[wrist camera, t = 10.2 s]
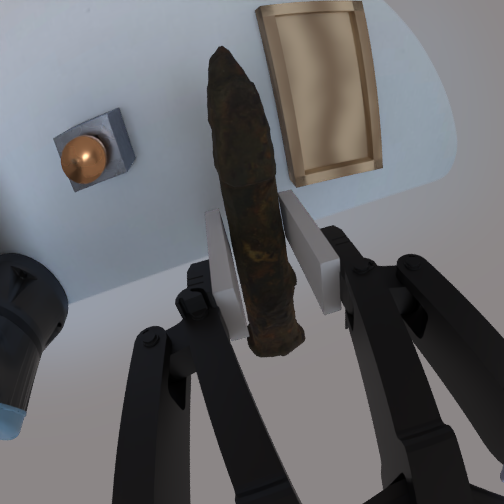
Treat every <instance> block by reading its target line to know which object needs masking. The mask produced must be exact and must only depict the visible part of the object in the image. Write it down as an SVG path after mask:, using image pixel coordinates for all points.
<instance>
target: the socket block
mask: <svg viewBox="0 0 504 504" xmlns="http://www.w3.org/2000/svg"><path fill="white" fill-rule="evenodd" d="M81 135H90V136H95V135H98V138H99V140H100V141H101V142H102V144H103V145H104V147H105V149H106V152H107V164H106V167H105V169H104V171H103V172H102V174H101V175H100V176H99V177H98V178H97V179H96V180H95V181H93V182H91V183H87V184H80V183H76V182H74V181H72V180H71V179H69V180H70V182H71V185H72V187H73V189H74V192H77V191H79V190H82V189H84V188H87V187H89V186H92V185H94V184H97V183H99V182H102V181H105V180H107V179H110V178H113V177H115V176H118V175H121V174H123V173H126V172H128V170H129V168H130V167H131V165H132V163H133V162H134V160H135V158H136V157H135V154H134V151H133V148H132V145H131V142H130V139H129V136H128V134H127V131H126V127H125V124H124V121H123V118H122V115H121V112H120V109H119V108H117V109H114V110H112V111H109V112H107V113H104V114H102V115H100V116H97V117H95V118H93V119H90V120H88V121H86V122H83V123H81V124H79V125H77V126H75V127H73V128H70V129H69V130H67V131H65V132H63V133H62V134H60V135H58V136H57V137H55V138H53V139H54V142H55V145H56V147H57V150H58V153H59V155H60V158H61V155H62V151H63V149H64V147H65V146H66V145H67V143H69V142H70V141H71V140H72V139H74V138H76V137H78V136H81Z"/></svg>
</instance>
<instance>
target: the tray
mask: <svg viewBox="0 0 504 504" xmlns="http://www.w3.org/2000/svg"><path fill="white" fill-rule="evenodd" d="M255 13H256V17H257V21H258V25H259V29H260V34H261V38H262V42H263V46H264V51H265V55H266V60H267V64H268V69H269V73H270V78H271V83H272V88H273V92H274V97H275V102H276V107H277V112H278V117H279V122H280V127H281V133H282V138H283V143H284V149H285V154H286V160H287V165H288V171H289V177H290V180H291V181H292V183H293V184H294V185H295V186H296V188H297V187H301V186H306V185H310V184H314V183H318V182H322V181H327V180H331V179H335V178H340V177H344V176H348V175H353V174H357V173H362V172H367V171H371V170H376V169H381V168H383V164H382V143H381V129H380V116H379V105H378V96H377V87H376V79H375V71H374V64H373V58H372V51H371V45H370V39H369V34H368V28H367V23H366V18H365V13H364V9H363V4H362V1H310V2H295V3H283V4H274V5H265V6H260V7H259V8H257V9H256V10H255Z"/></svg>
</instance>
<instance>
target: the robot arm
mask: <svg viewBox="0 0 504 504" xmlns="http://www.w3.org/2000/svg"><path fill="white" fill-rule="evenodd" d="M278 198H279V203H280V209H281V214H282V220H283V225H284V231H285V236H286V238H287V240H288V242H289V244H290V246H291V248H292V250H293V252H294V254H295V256H296V258H297V260H298V262H299V264H300V266H301V268H302V270H303V272H304V274H305V276H306V278H307V280H308V282H309V284H310V286H311V288H312V290H313V292H314V294H315V296H316V299H317V300H318V303H319V305H320V307H321V309H322V311H323V313H324V315H327V314H330V313H333V312H336V311H339V310H341V301H342V303H343V305H344V307H345V329H348V327H349V331H350V334H351V338H352V342H353V345H354V349H355V352H356V356H357V360H358V363H359V367H360V371H361V375H362V379H363V383H364V387H365V391H366V395H367V399H368V403H369V407H370V411H371V416H372V420H373V424H374V429H375V434H376V438H377V443H378V448H379V453H380V457H381V464H382V465H381V478H382V485H383V491H381V492H380V493H378V494H377V495H375V496H374V497H372V498H371V499H370V500H368V501H366V502H365V503H363V504H504V496H501V495H498V494H496V493H493V492H490V491H487V490H485V489H482V488H479V487H477V486H474V485H472V484H469V481H468V477H467V473H466V470H465V465H464V462H463V458H462V455H461V451H460V448H459V445H458V442H457V438H456V435H455V433H454V431H453V429H452V428H451V427H450V426H449V425H446V424H444V423H443V421H442V419H441V417H440V414H439V411H438V408H437V405H436V402H435V399H434V397H433V394H432V391H431V388H430V385H429V383H428V380H427V377H426V375H425V373H424V370H423V367H422V364H421V362H420V359H419V357H418V354H417V352H416V349H415V347H414V345H413V342H414V344H415V345H416V346H417V348H418V349H419V350H420V352H421V353H422V354H423V356H424V357H425V358H426V360H427V361H428V362H429V364H430V365H431V367H433V369H434V371H435V372H436V373H437V375H438V376H439V377H440V379H441V380H442V382H443V383H444V385H445V386H446V387H447V389H448V390H449V392H450V393H451V394H452V396H453V397H454V399H455V400H456V402H457V403H458V404H459V406H460V408H461V409H462V410H463V412H464V413H465V415H466V416H467V418H468V419H469V421H470V422H471V424H472V425H473V427H474V429H475V430H476V432H477V433H478V435H479V436H480V438H481V439H482V441H483V443H484V444H485V445H486V447H487V448H488V449H489V451H490V452H491V453H492V454H493V455H494V457H496V459H497V460H498V461H500V462H501V463H502V464H503V470H502V471H501V474H500V478H501V480H502V482H504V338H503V337H502V336H501V335H500V334H499V333H498V332H497V331H496V329H495V328H494V327H493V326H492V325H491V324H490V323H489V322H488V321H487V320H486V319H485V318H484V316H482V315H481V313H480V312H479V311H478V310H477V309H476V308H475V307H474V306H473V305H472V304H471V303H470V302H469V301H468V300H467V299H466V298H465V297H464V296H463V295H462V294H461V293H460V292H459V291H458V290H457V289H456V288H455V287H454V286H453V285H452V284H451V283H450V282H449V281H448V280H447V279H446V278H445V277H444V276H443V275H442V274H441V273H440V272H438V271H437V270H436V269H435V268H434V267H433V266H432V265H431V264H430V263H429V262H427V260H426V259H424V258H423V257H421V256H419V255H415V254H407V255H403V256H402V257H400V258H399V259H398V261H397V265H395V266H377V265H376V263H375V262H374V261H372V260H371V259H367V258H363V256H362V255H361V254H360V252H359V251H358V250H357V249H356V247H355V246H354V245H353V243H352V242H350V240H349V238H347V237H346V235H345V233H344V232H343V231H342V230H341V229H339V228H338V227H336V226H334V225H332V226H328V227H325V228H321V229H319V227H318V226H317V225H316V223H315V222H314V220H313V219H312V218H311V216H310V215H309V213H308V212H307V211H306V209H305V208H304V206H303V205H302V204H301V202H300V201H299V199H298V198H297V197H296V195H295V194H294V193H293V191H292V190H287V191H283V192H279V193H278ZM205 220H206V232H207V243H208V254H209V260H205V261H201V262H198V263H194V264H191V266H190V268H189V269H188V271H187V288H186V289H184V290H183V291H182V292H181V293H180V294H179V295H178V296H177V298H176V301H175V305H176V307H177V309H178V311H179V313H180V314H181V316H182V318H183V320H182V321H181V322H180V323H178V324H177V325H175V326H174V327H171V328H170V329H168V330H166V331H165V330H164V329H163V328H162V327H159V326H152V327H149V328H146V329H145V330H143V331H141V332H140V334H139V335H138V336H137V338H136V340H135V343H134V349H133V354H132V358H131V363H130V369H129V374H128V380H127V385H126V391H125V397H124V403H123V410H122V416H121V423H120V430H119V438H118V446H117V455H116V463H115V474H114V486H113V497H112V504H190V392H191V374H193V373H195V372H197V375H198V379H199V383H200V386H201V390H202V393H203V396H204V400H205V403H206V407H207V410H208V413H209V416H210V420H211V423H212V426H213V429H214V432H215V435H216V438H217V441H218V445H219V448H220V451H221V453H222V456H223V459H224V462H225V465H226V468H227V471H228V474H229V476H230V479H231V482H232V484H233V487H234V490H235V502H236V504H302V503H301V501H300V499H299V497H298V495H297V493H296V491H295V489H294V487H293V485H292V483H291V481H290V479H289V477H288V475H287V472H286V470H285V468H284V466H283V464H282V462H281V460H280V457H279V455H278V453H277V451H276V449H275V446H274V444H273V442H272V440H271V438H270V436H269V433H268V431H267V429H266V426H265V424H264V422H263V420H262V417H261V415H260V413H259V410H258V408H257V406H256V403H255V401H254V399H253V396H252V394H251V392H250V389H249V387H248V384H247V382H246V380H245V377H244V375H243V372H242V370H241V367H240V365H239V363H238V360H237V358H236V355H235V353H234V350H233V348H232V345H231V344H230V339H231V341H234V340H238V339H242V338H246V337H249V332H248V328H247V323H246V319H245V314H244V309H243V305H242V300H241V296H240V291H239V286H238V281H237V277H236V272H235V268H234V262H233V258H232V253H231V249H230V245H229V242H228V239H227V235H226V232H225V228H224V225H223V221H222V218H221V215H220V211H219V208H218V209H215V210H211V211H207V212H205ZM67 314H68V302H67V298H66V295H65V292H64V290H63V288H62V287H61V285H60V283H59V282H58V281H57V279H56V278H55V277H54V276H53V275H52V274H51V273H50V272H49V271H48V270H47V269H46V268H45V267H44V266H42V265H41V264H40V263H38V262H36V261H35V260H33V259H31V258H29V257H26V256H23V255H20V254H13V253H9V254H3V255H0V440H12V439H14V438H16V437H17V436H18V435H19V433H20V430H21V427H22V423H23V420H24V417H25V416H26V411H27V407H28V403H29V398H30V394H31V390H32V386H33V382H34V379H35V375H36V371H37V368H38V365H39V361H40V358H41V355H42V352H43V351H44V350H45V348H46V347H47V346H48V345H49V344H50V343H51V341H52V340H53V339H54V338H55V337H56V336H57V335H58V334H59V333H60V331H61V330H62V328H63V326H64V323H65V320H66V317H67ZM229 336H230V337H229ZM412 341H413V342H412Z"/></svg>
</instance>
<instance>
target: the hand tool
mask: <svg viewBox="0 0 504 504" xmlns="http://www.w3.org/2000/svg"><path fill="white" fill-rule="evenodd" d="M208 80H209V81H208V86H207V108H208V122H209V124H210V126H211V129H212V141H213V157H214V165H215V168H216V169H217V172H218V174H219V180H220V186H221V192H222V197H223V201H224V206H225V211H226V215H227V220H228V225H229V230H230V237H231V242H232V247H233V252H234V256H235V260H236V266H237V271H238V275H239V279H240V284H241V288H242V292H243V298H244V302H245V305H246V311H247V315H248V321H249V325H248V326H247V328H248V332H249V337H247V341H248V345H249V347H250V349H251V350H252V351H253V353H254V354H255V355H256V356H259V357H274V356H280V355H281V356H285V355H287V354H289V353H290V352H291V351H293V350H294V349H295V348H296V347H298V346H299V345H300V344H302V343H303V342H304V341H305V334H304V330H303V328H302V327H301V326H300V325H299V324H298V323H297V320H296V319H295V310H294V304H293V302H294V301H293V295H294V289H295V287H294V286H295V285H296V282H297V279H296V274H295V272H294V270H293V269H292V267H291V265H290V263H289V262H288V258H287V251H286V242H285V235H284V230H283V224H282V219H281V214H280V208H279V200H278V193H277V186H276V178H275V175H276V163H275V159H274V149H273V144H272V141H271V136H270V127H269V124H268V121H267V119H266V116H265V113H264V109H263V106H262V103H261V100H260V96H259V93H258V92H257V90H256V87H255V85H254V83H253V82H251V81H250V80H249V78H248V77H247V75H246V74H245V72H244V70H243V69H242V67H241V66H240V65H239V64H238V63H237V61H236V60H235V59H234V57H233V56H232V54H231V53H230V51H229V50H227V49H226V48H225V47H223V46H221V47H220V46H219V47H218V49H217V50H216V52H215V53H214V54H213V55H212V56H211V58H210V60H209V68H208Z"/></svg>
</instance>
